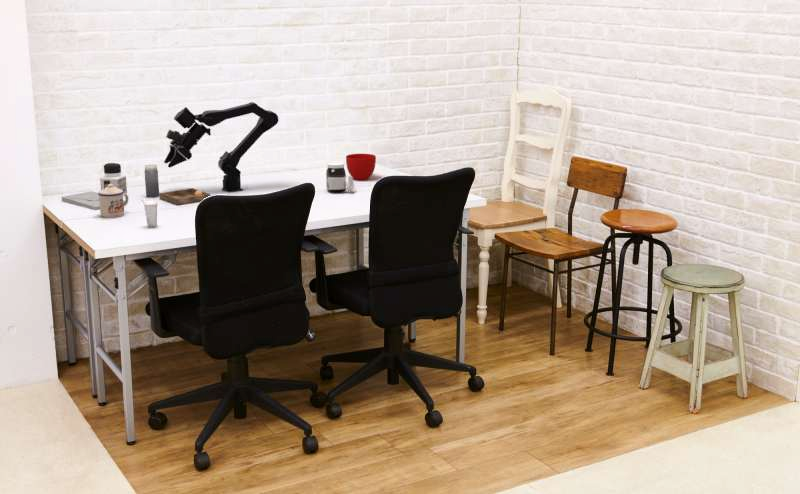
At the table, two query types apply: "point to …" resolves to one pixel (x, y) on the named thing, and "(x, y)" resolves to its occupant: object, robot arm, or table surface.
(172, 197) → the tray
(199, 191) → the ball
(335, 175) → the spread jar
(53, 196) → the table surface
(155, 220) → the milkshake
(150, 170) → the cylinder
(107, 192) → the teacup with lid
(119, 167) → the container
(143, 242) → the table surface
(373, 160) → the ceramic cup
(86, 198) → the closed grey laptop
